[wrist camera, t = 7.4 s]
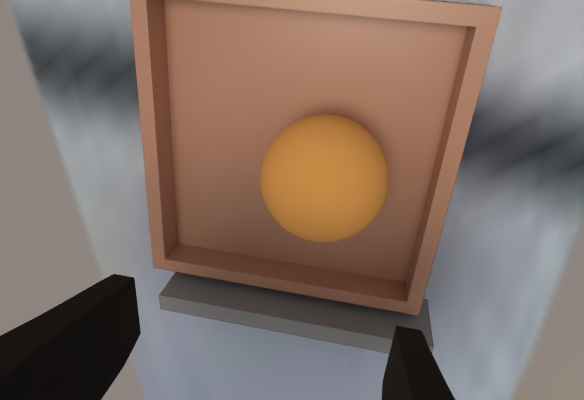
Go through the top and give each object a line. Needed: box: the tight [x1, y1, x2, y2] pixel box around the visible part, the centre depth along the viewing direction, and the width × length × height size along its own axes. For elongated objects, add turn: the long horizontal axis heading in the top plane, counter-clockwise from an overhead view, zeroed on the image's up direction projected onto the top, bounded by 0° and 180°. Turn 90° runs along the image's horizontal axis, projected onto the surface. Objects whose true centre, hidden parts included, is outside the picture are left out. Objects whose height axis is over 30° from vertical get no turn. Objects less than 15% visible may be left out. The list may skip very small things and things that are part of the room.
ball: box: [260, 114, 389, 242], centre depth 16 cm, size 5×5×5 cm
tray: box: [130, 0, 502, 316], centre depth 17 cm, size 12×12×2 cm
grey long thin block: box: [159, 272, 434, 353], centre depth 20 cm, size 1×12×3 cm, turn 86°
